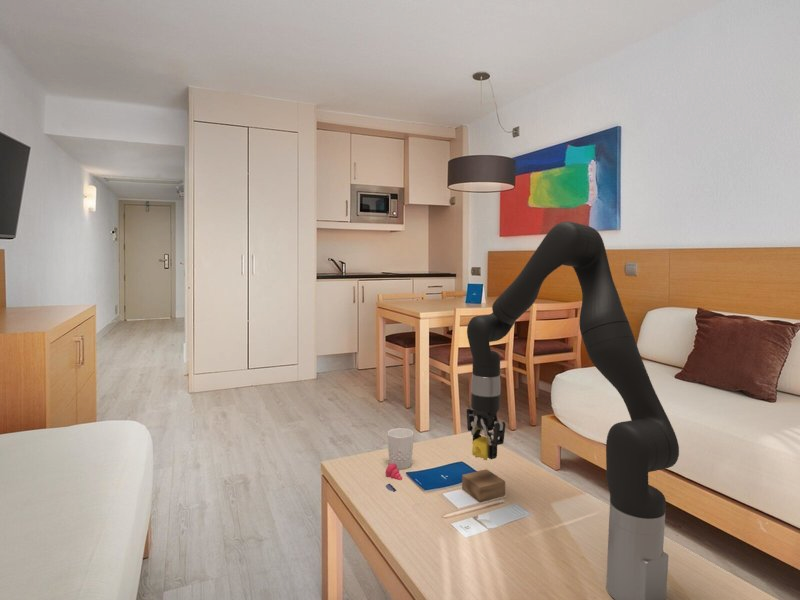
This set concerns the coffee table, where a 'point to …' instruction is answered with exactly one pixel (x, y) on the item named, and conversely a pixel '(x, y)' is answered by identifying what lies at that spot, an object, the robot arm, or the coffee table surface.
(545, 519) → the coffee table surface
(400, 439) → the white cup
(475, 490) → the base block
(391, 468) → the toy pieces
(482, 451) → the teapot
